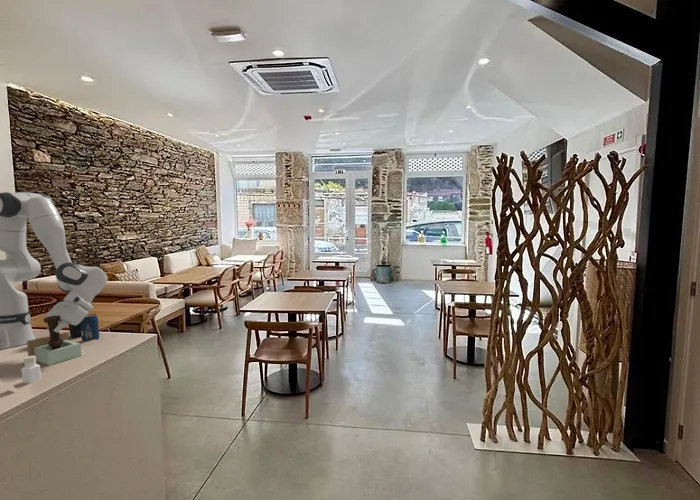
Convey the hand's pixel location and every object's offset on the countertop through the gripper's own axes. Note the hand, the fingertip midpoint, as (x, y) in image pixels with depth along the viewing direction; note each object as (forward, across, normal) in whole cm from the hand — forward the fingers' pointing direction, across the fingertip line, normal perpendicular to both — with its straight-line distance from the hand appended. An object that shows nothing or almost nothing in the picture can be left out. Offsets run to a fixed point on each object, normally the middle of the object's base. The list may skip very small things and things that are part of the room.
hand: (52, 330), depth 161 cm
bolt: (+6, 0, +8) cm, 10 cm away
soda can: (-6, -14, +24) cm, 28 cm away
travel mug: (-7, -28, +25) cm, 38 cm away
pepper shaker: (+19, +19, -2) cm, 27 cm away
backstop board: (+8, +3, +9) cm, 13 cm away
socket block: (+7, +2, +8) cm, 11 cm away
